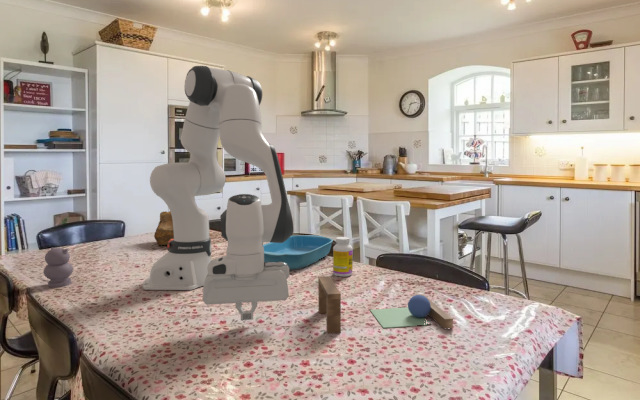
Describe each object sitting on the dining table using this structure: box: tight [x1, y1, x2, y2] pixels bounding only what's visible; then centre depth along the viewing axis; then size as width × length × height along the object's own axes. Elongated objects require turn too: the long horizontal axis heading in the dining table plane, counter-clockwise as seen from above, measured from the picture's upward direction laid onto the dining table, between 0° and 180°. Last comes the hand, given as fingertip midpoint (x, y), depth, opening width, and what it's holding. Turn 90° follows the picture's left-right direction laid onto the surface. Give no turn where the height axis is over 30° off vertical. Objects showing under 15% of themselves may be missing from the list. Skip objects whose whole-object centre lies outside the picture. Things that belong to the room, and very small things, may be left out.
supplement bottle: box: [332, 236, 353, 278], centre depth 147 cm, size 7×7×13 cm
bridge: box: [317, 275, 342, 334], centre depth 105 cm, size 3×15×9 cm, turn 9°
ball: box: [407, 294, 431, 318], centre depth 108 cm, size 6×6×6 cm
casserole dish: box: [263, 234, 334, 270], centre depth 168 cm, size 37×22×7 cm, turn 154°
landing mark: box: [369, 306, 431, 329], centre depth 108 cm, size 12×12×1 cm
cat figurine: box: [43, 247, 74, 289], centre depth 137 cm, size 8×8×12 cm
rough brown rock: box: [153, 210, 174, 246], centre depth 199 cm, size 23×17×15 cm
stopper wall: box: [419, 293, 454, 329], centre depth 109 cm, size 2×18×2 cm, turn 9°
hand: (247, 319), depth 103 cm, fingers closed
